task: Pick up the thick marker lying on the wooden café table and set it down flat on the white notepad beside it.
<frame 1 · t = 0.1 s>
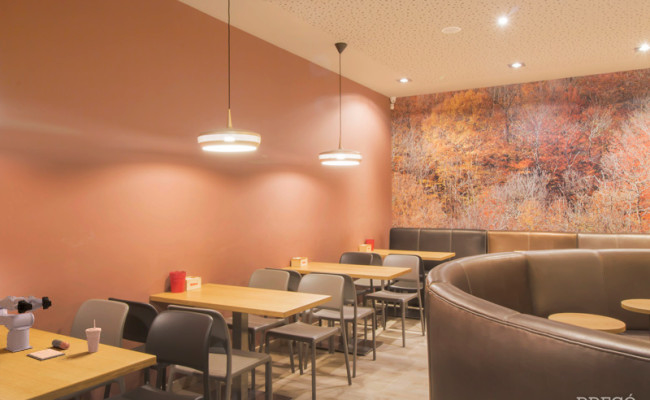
hand: (41, 305, 195), 22 cm above the table, tool horizontal, fingers open, 7 cm apart
smoothie: (93, 351, 200), on the table
marker: (60, 347, 206), on the table
notepad: (46, 355, 195), on the table
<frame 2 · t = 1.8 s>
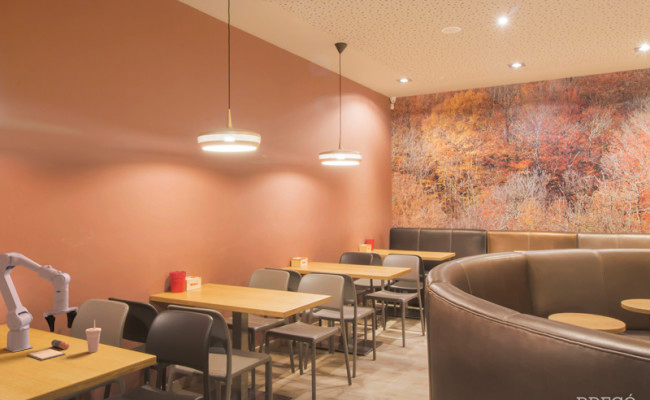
hand: (60, 329, 206), 8 cm above the table, tool pointing down, fingers open, 7 cm apart
marker: (60, 347, 206), on the table, tilted 8°
everything else where it was.
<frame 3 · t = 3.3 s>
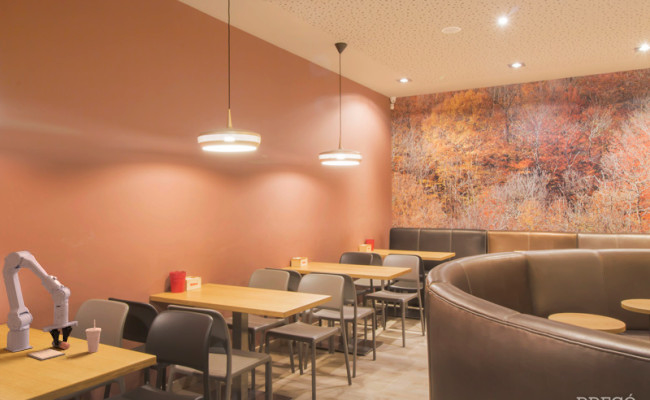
hand: (60, 344, 206), 1 cm above the table, tool pointing down, fingers closed on marker, 3 cm apart
marker: (60, 347, 206), on the table, touching gripper
everything else where it was.
when the fingers open (3 cm above the table, at t = 7.1 s): marker stays where it is, resting on notepad.
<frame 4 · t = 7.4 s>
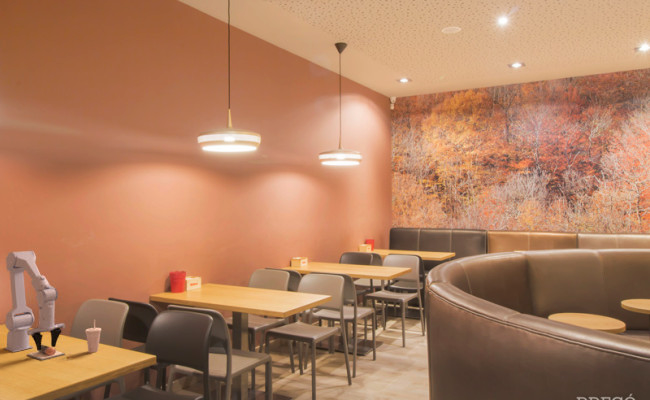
hand: (46, 348, 195), 3 cm above the table, tool pointing down, fingers open, 5 cm apart
marker: (46, 353, 195), point 1 cm above the table, touching notepad
everything else where it was.
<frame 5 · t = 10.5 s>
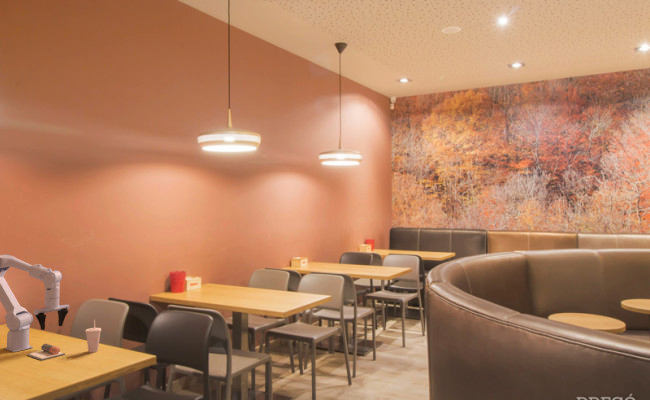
hand: (51, 327, 205), 9 cm above the table, tool pointing down, fingers open, 7 cm apart
marker: (47, 351, 195), point 2 cm above the table, tilted 66°, touching notepad
everything else where it was.
at the end: marker inside the target area on the notepad (0.4 cm from its centre), point 1.7 cm above the notepad's base; the gripper is holding nothing; marker touching notepad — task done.
